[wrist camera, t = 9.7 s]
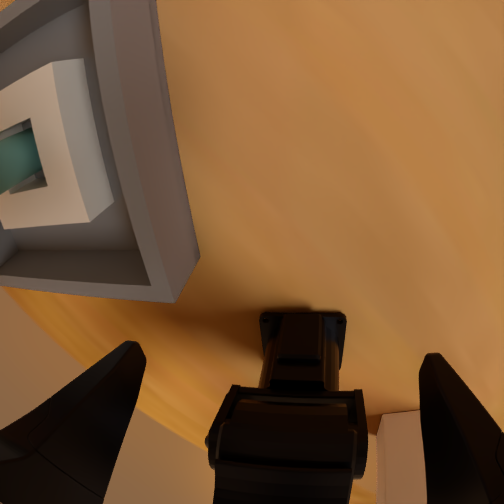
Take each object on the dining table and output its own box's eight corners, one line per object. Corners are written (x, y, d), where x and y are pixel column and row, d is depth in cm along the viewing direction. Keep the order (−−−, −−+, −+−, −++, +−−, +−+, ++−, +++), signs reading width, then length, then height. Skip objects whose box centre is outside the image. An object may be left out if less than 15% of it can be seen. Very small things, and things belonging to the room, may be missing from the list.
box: (200, 256, 23) (175, 303, 18) (23, 255, 27) (-8, 284, 23) (152, -35, 12) (106, -54, 8) (-29, 68, 16) (-70, 80, 12)
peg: (65, 160, 19) (-31, 221, 12) (38, 167, 20) (-50, 224, 12) (55, 117, 17) (-49, 164, 10) (28, 128, 18) (-67, 175, 11)
